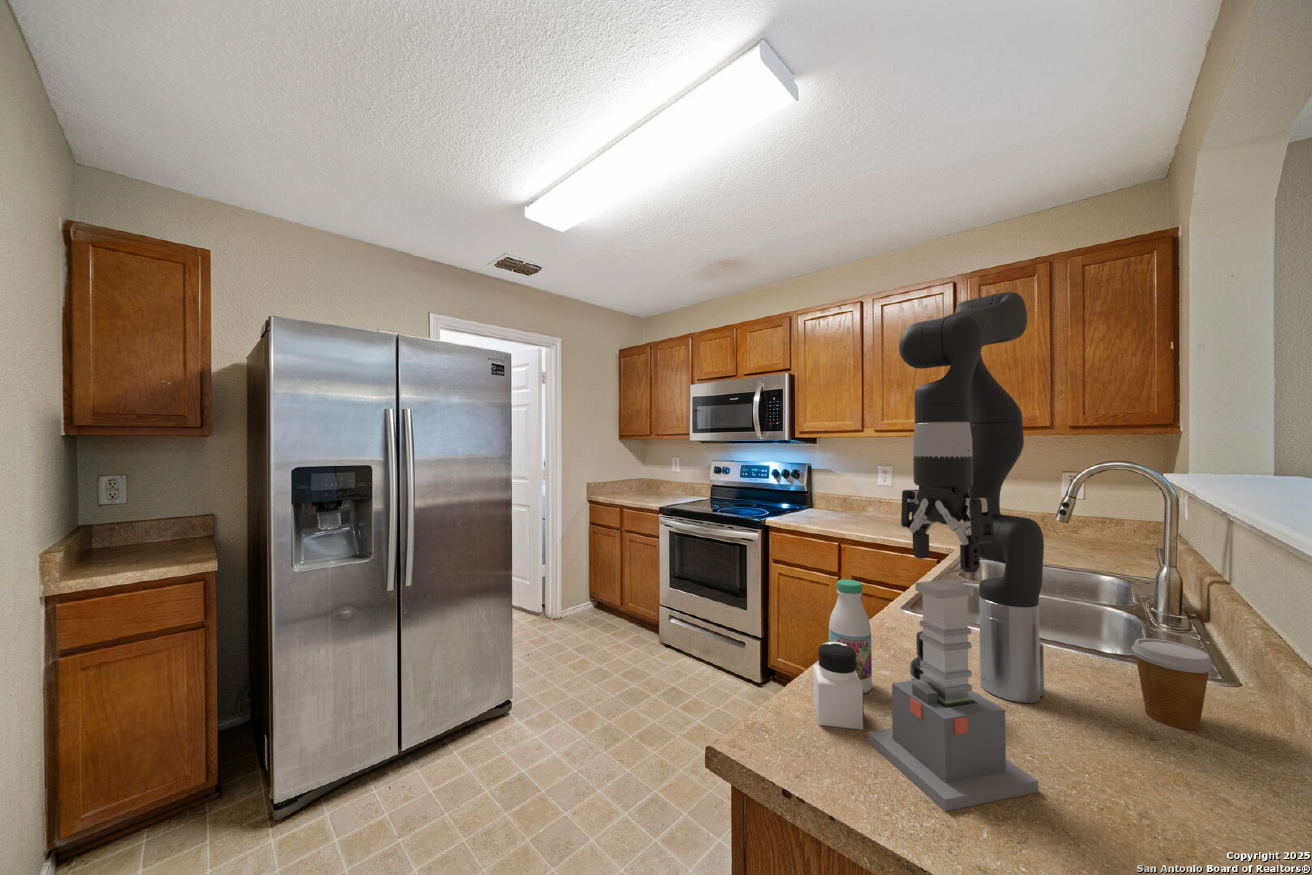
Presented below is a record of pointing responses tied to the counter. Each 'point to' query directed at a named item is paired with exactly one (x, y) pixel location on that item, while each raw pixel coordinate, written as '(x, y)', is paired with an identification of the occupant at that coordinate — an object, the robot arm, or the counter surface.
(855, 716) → the medicine bottle
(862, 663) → the milk bottle
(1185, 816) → the counter surface
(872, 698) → the counter surface
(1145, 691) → the disposable coffee cup
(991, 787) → the stand base
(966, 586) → the column
